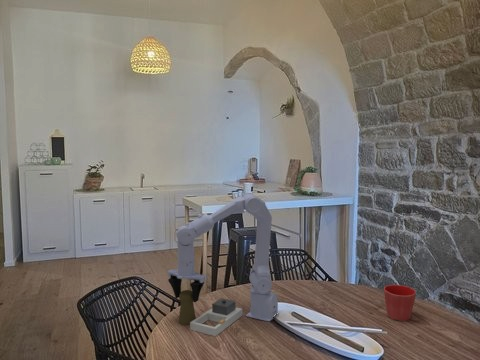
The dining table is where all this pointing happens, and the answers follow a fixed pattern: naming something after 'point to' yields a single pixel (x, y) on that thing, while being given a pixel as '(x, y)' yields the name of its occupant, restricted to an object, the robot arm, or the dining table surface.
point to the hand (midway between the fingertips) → (186, 299)
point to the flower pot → (399, 301)
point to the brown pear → (186, 308)
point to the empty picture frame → (217, 317)
